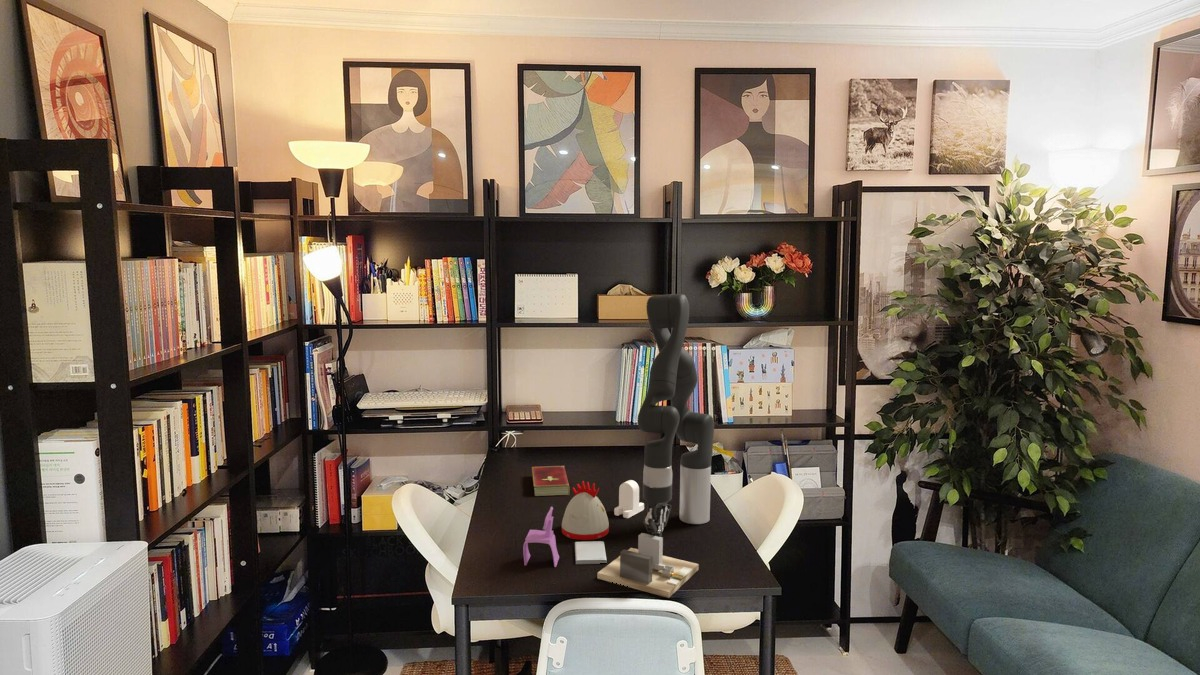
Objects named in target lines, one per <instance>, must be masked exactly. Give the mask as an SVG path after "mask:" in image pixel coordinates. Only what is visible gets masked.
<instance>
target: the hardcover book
mask: <svg viewBox="0 0 1200 675" xmlns="http://www.w3.org/2000/svg"><path fill="white" fill-rule="evenodd" d="M531 473H532V482H533V484H532V485H533V489H534V496H535V497H541V496H542V497H543V496H544V497H545V496H546V497H547V496H570V495H571V494H570V493H571V487H570V484H569V479H568V477H567V472H566V468H565V465H551V466H549V465H547V466H531Z"/></svg>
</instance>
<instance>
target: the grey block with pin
mask: <svg viewBox="0 0 1200 675" xmlns="http://www.w3.org/2000/svg"><path fill="white" fill-rule="evenodd" d="M662 576H664V577H668V578H670V577H671V576H676V577H680V578H683V576H682V575H678V574H674V573H673V567H670V566H665V567H664V568H663V570H662Z"/></svg>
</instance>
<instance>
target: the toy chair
mask: <svg viewBox="0 0 1200 675" xmlns="http://www.w3.org/2000/svg"><path fill="white" fill-rule="evenodd" d="M553 510H554V507H553V506H550V507H549V510H548V512H547V514H546V516H545V518H544V523H543V527H542V530H539V529H529V531H528V533H527V535H526V537H525V538H524V539H525V541H524V543H523V545H522V546H523V548H522V552H523V553H522V554H523V562H524V563H523V564H524V566H527V565H528V562H529V560H530V558H531V554H530V551H529V546H528V545H529V544H531V543H538V544H539V543H540V544H546V545H549V546H550V550H551V553H552V560H553V566H554V568H557V565H558V562H559V559H560V555H559V552H558V548H557V543H556V542H557V540H556V535H555V533H554V530H552V529H553V524H554V516H552V515H553Z"/></svg>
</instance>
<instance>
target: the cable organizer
mask: <svg viewBox="0 0 1200 675" xmlns="http://www.w3.org/2000/svg"><path fill="white" fill-rule="evenodd" d="M618 489H619V490H618V506H616V507H614V510H613V512H614V516H618V517H619V516H621V515H622V517H623V518H624V519H629V518H631V517H632V516H635V515H636V514H639V513H640V512H643V511H644V510H645V503H644V502H640V486H639V484H638V483H637V482H636V481H635V480H633V479H629V480H626V481H625V482H622V483H621V484H620V485H619V486H618Z"/></svg>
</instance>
